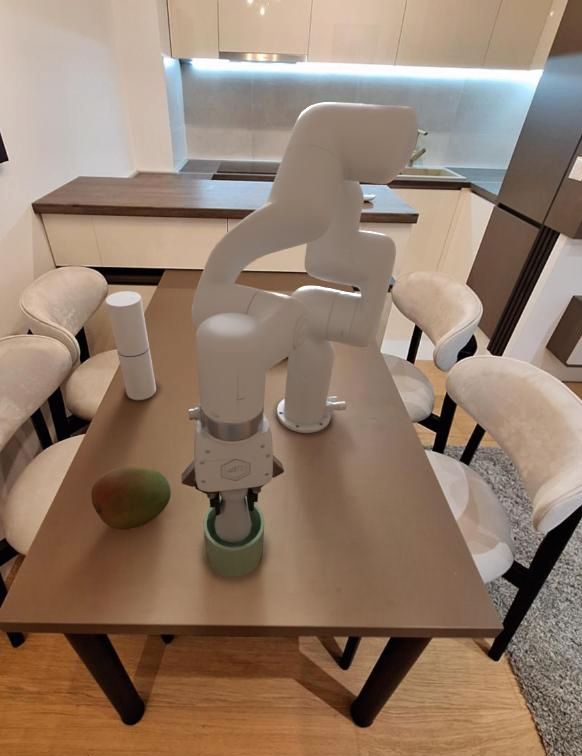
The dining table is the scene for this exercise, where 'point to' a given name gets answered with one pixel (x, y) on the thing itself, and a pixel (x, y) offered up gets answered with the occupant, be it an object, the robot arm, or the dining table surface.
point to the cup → (234, 546)
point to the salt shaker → (233, 516)
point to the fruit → (130, 497)
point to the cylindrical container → (132, 343)
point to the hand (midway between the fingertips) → (233, 504)
